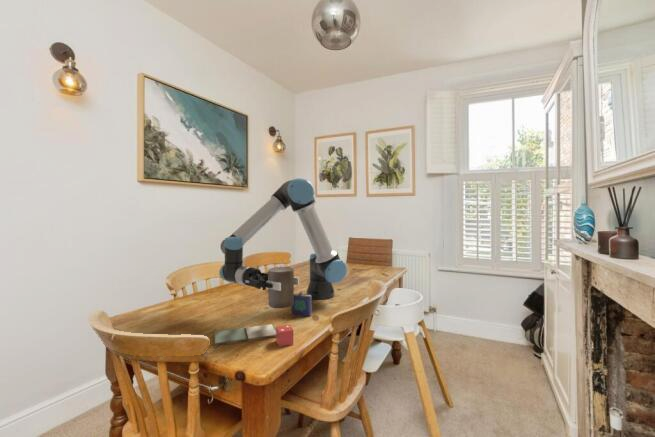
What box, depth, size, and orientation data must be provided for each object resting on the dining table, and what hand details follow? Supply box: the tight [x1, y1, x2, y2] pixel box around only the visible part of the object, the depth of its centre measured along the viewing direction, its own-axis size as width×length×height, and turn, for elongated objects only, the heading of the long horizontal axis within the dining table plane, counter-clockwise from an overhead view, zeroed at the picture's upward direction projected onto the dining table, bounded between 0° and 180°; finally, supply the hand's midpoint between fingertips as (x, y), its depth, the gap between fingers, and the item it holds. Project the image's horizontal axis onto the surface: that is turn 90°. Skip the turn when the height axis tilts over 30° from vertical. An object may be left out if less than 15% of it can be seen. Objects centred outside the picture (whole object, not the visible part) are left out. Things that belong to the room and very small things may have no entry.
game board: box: [213, 323, 276, 347], centre depth 112 cm, size 22×11×1 cm, turn 111°
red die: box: [275, 324, 294, 348], centre depth 106 cm, size 5×5×5 cm
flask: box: [291, 290, 313, 317], centre depth 133 cm, size 9×3×11 cm, turn 74°
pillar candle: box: [267, 265, 295, 309], centre depth 116 cm, size 10×10×15 cm
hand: (289, 284), depth 113 cm, fingers closed on pillar candle, 9 cm apart
